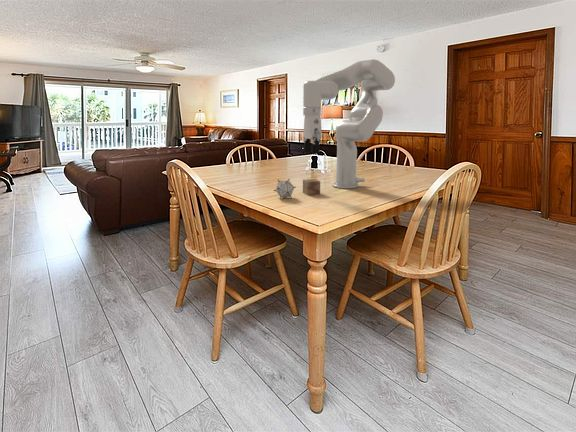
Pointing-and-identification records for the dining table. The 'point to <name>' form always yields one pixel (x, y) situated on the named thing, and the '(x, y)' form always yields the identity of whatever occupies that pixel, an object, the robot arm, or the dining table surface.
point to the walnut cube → (311, 187)
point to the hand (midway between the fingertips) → (311, 152)
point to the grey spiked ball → (284, 188)
